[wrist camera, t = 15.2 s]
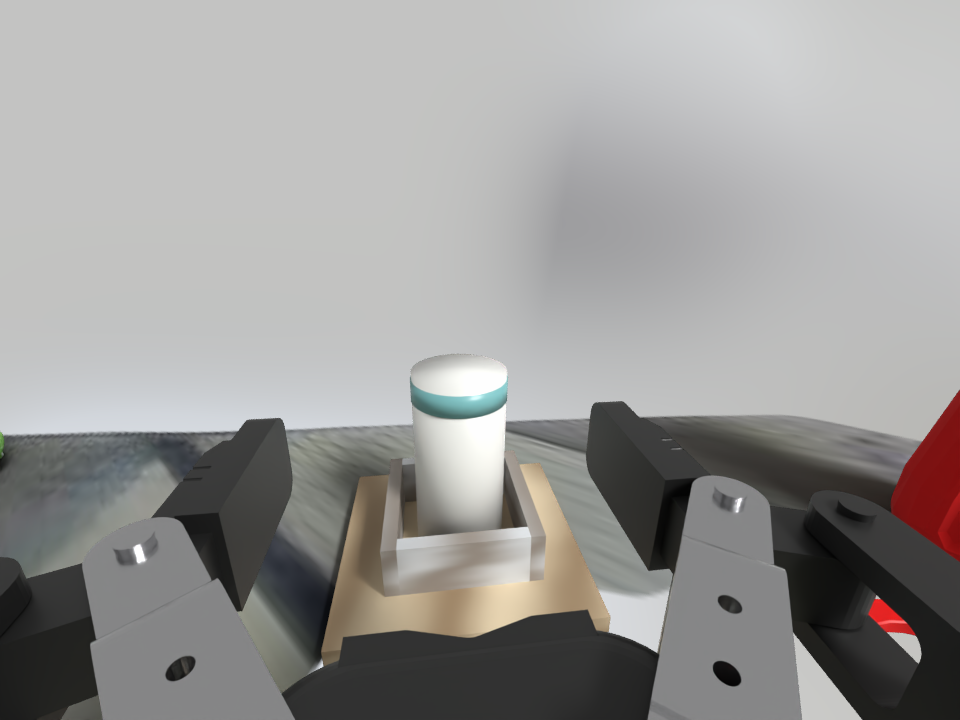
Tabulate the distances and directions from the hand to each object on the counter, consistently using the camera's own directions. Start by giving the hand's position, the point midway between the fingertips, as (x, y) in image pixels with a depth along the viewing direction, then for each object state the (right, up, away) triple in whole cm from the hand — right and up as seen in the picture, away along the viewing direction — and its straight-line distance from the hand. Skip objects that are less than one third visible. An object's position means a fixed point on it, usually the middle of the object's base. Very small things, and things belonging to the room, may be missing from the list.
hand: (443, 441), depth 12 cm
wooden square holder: (0, -10, +17) cm, 19 cm away
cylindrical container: (0, -9, +16) cm, 18 cm away
